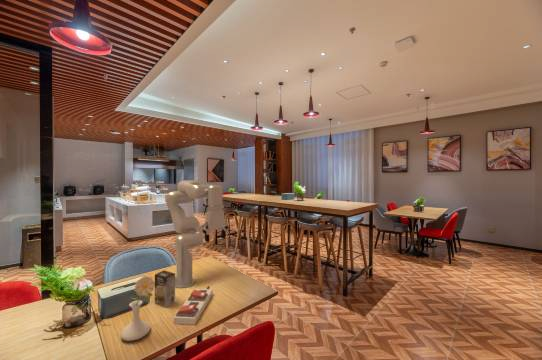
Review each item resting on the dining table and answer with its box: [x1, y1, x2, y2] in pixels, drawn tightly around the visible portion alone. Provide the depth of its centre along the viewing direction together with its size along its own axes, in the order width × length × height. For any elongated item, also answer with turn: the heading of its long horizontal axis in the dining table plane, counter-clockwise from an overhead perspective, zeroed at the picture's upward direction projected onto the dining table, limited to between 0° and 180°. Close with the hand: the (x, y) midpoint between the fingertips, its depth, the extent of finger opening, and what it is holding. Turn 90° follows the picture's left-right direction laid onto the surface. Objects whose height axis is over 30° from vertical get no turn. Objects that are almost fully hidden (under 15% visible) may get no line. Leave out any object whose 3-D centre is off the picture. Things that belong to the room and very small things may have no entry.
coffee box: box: [154, 270, 176, 308], centre depth 128 cm, size 9×6×16 cm
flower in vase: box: [120, 275, 155, 342], centre depth 103 cm, size 13×11×25 cm
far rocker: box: [189, 289, 206, 299], centre depth 128 cm, size 7×4×2 cm, turn 87°
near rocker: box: [177, 304, 196, 314], centre depth 114 cm, size 7×4×2 cm, turn 87°
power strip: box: [173, 285, 214, 326], centre depth 128 cm, size 10×36×4 cm, turn 177°
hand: (215, 240), depth 128 cm, fingers open, 9 cm apart
